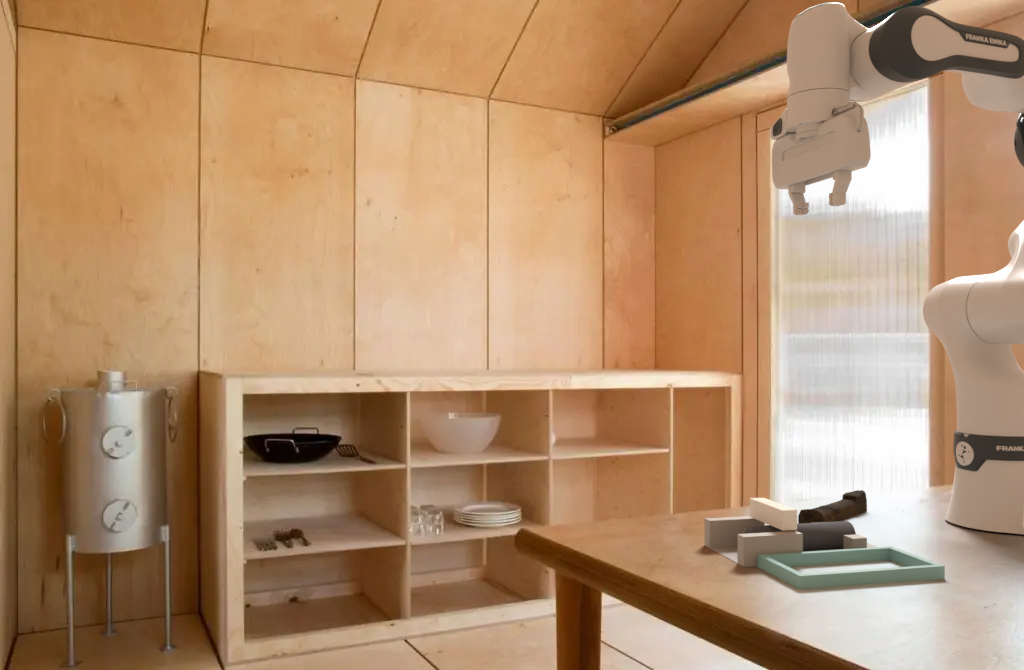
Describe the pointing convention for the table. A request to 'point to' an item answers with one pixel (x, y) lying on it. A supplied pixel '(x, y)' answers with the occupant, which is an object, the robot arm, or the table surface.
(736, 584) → the table surface
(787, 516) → the cream square beam
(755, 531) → the dark grey cylinder
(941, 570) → the tray
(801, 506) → the table surface
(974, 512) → the robot arm
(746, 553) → the cradle
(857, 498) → the hand tool
